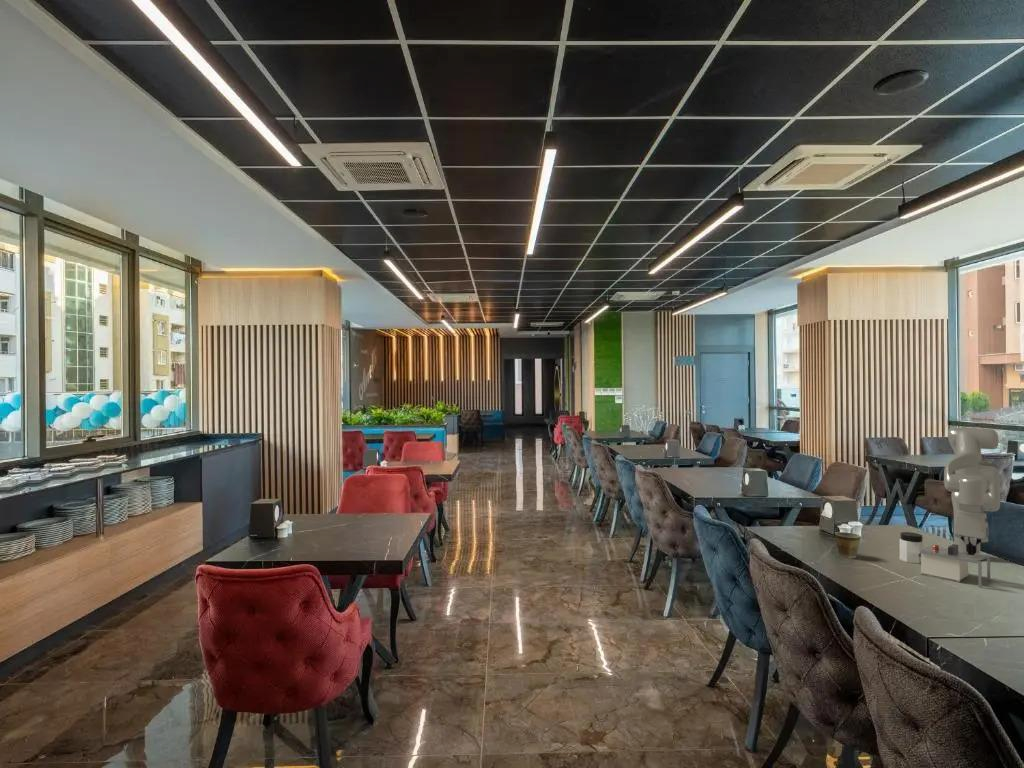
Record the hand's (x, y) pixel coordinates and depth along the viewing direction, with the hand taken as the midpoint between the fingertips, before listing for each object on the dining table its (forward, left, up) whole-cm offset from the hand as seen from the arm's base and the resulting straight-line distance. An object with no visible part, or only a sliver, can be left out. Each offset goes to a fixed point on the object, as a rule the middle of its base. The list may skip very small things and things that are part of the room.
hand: (971, 554), depth 234 cm
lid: (0, -9, -2) cm, 9 cm away
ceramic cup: (0, -47, -11) cm, 48 cm away
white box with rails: (0, -7, -11) cm, 13 cm away
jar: (-14, -25, -11) cm, 31 cm away
